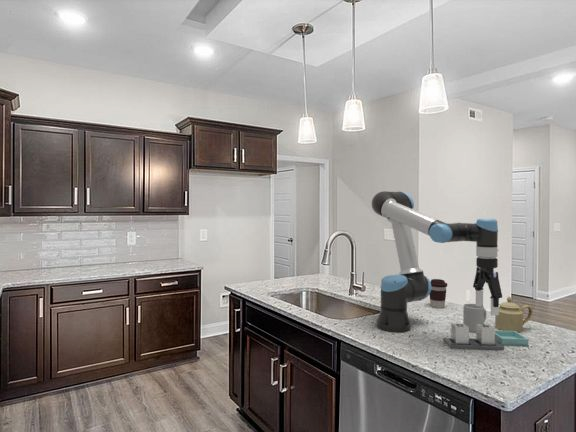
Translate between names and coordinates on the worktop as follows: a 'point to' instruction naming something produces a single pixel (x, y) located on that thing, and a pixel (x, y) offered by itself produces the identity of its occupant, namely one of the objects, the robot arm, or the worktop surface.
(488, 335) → the steel cube with knob
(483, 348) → the grey slotted plate
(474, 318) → the mug
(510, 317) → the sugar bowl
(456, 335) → the light gray block
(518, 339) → the parts tray
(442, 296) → the coffee cup
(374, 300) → the worktop surface
